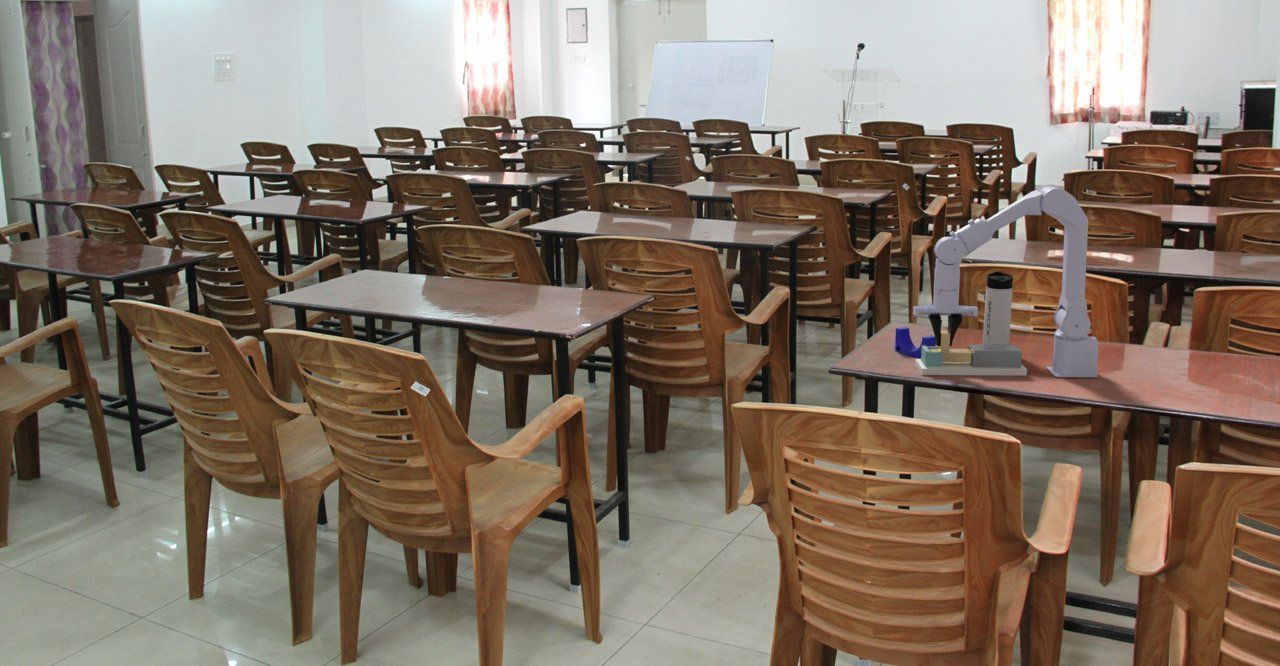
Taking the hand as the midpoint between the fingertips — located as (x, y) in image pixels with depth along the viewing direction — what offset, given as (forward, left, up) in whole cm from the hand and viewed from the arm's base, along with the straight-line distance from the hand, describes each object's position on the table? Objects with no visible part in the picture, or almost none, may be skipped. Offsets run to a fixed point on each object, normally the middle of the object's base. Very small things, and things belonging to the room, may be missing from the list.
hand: (943, 345), depth 264 cm
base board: (-6, 0, -6) cm, 9 cm away
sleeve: (-12, 0, -5) cm, 13 cm away
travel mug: (-16, -17, -6) cm, 25 cm away
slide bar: (-4, 0, -4) cm, 5 cm away
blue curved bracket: (+3, -14, -6) cm, 16 cm away
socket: (+3, 0, -5) cm, 5 cm away
